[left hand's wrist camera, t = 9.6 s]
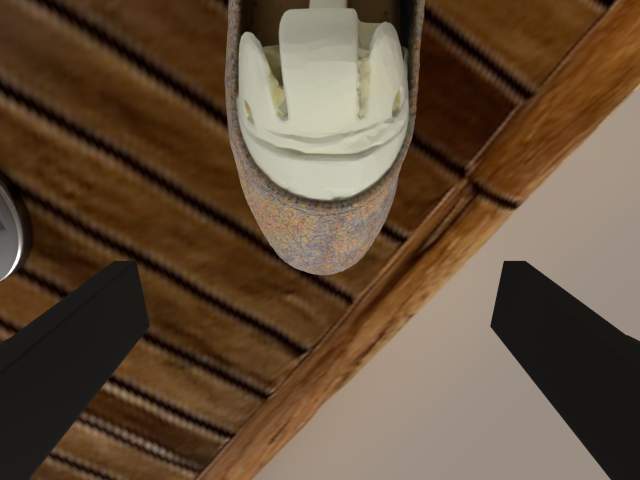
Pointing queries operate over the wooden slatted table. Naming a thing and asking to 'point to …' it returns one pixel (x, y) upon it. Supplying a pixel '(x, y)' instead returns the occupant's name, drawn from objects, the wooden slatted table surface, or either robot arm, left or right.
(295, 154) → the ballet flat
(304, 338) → the wooden slatted table surface
